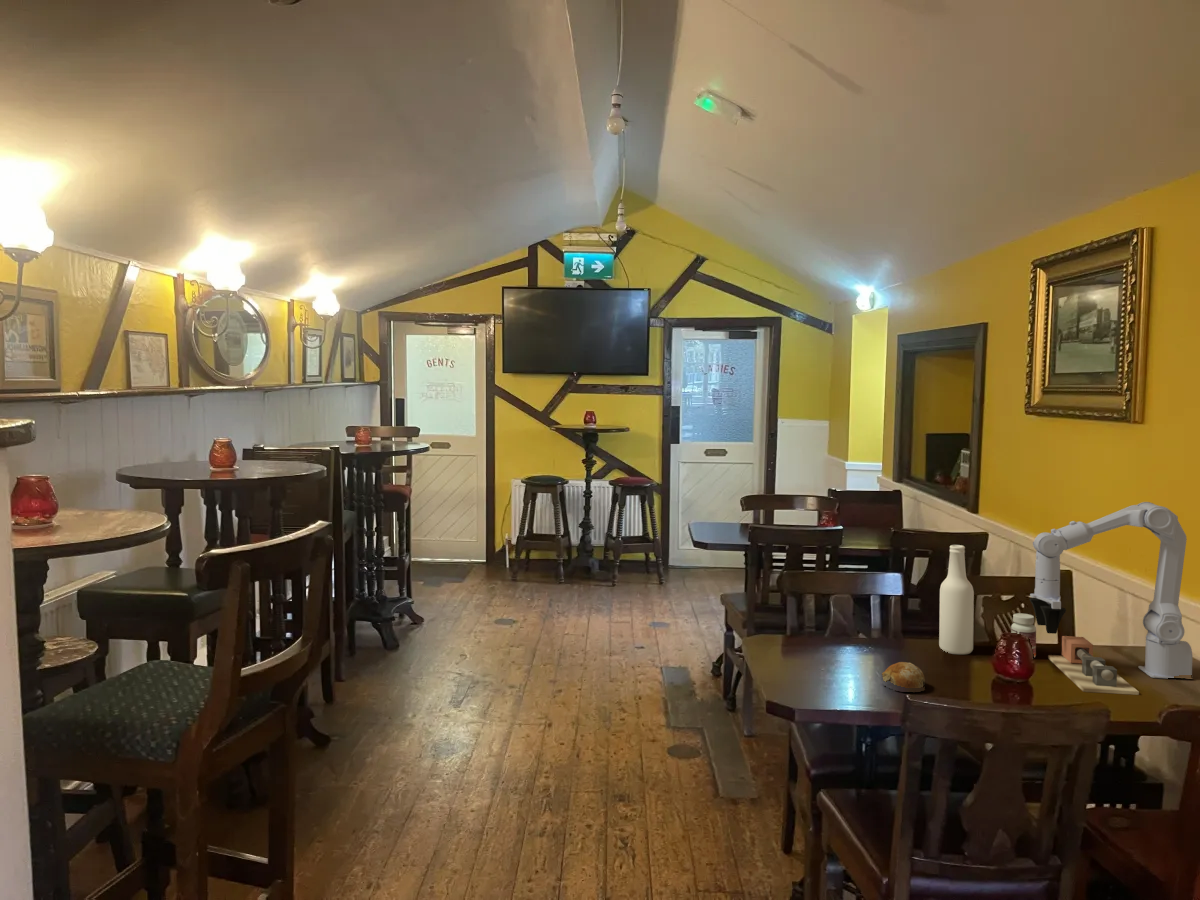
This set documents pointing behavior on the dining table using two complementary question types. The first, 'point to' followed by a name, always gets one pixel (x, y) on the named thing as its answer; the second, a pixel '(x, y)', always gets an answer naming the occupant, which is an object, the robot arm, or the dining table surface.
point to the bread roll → (904, 675)
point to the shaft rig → (1093, 674)
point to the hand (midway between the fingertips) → (1046, 629)
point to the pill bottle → (1025, 628)
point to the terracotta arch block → (1071, 643)
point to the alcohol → (956, 606)
